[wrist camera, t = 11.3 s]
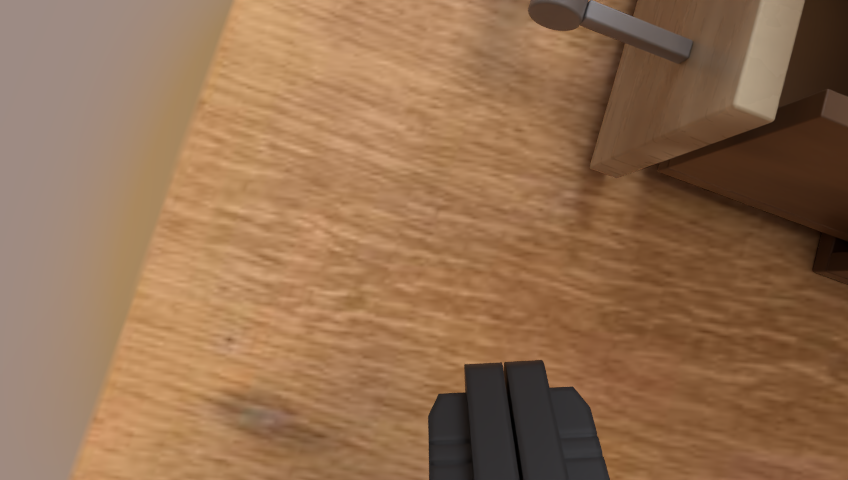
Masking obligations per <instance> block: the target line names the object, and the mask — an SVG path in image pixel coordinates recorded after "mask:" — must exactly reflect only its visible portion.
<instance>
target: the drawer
mask: <svg viewBox="0 0 848 480" xmlns="http://www.w3.org/2000/svg"><path fill="white" fill-rule="evenodd" d="M528 12H529V15H530V17H531V18H532V19H533V20H534V21H535V22H536V23H538V24H540V25H541V26H544V27H546V28H549V29H553V30H559V31H568V30H573V29H576V28H577V27H579V25H580V26H583V27H586V28H588V29H591V30H593V31H596V32H598V33H601V34H603V35H606V36H608V37H611V38H613V39H616V40H619V41H621V42H624V43H625V46H624V49H623V53H622V56H621V60H620V63H619V67H618V70H617V74H616V77H615V80H614V84H613V87H612V91H611V94H610V98H609V101H608V105H607V108H606V112H605V115H604V119H603V122H602V125H601V129H600V132H599V136H598V139H597V143H596V146H595V150H594V153H593V157H592V160H591V164H590V168H591V169H593V170H595V171H598V172H601V173H604V174H606V175H609V176H612V177H615V178H618V177H621V176H624V175H627V174H629V173H632V172H635V171H638V170H641V169H643V168H646V167H649V166H652V165H654V164H657V163H659V167H658V172H660V173H663V174H666V175H668V176H671V177H674V178H676V179H679V180H682V181H685V182H687V183H690V184H693V185H695V186H698V187H701V188H704V189H706V190H709V191H712V192H714V193H717V194H720V195H723V196H725V197H728V198H731V199H734V200H736V201H739V202H742V203H744V204H747V205H750V206H753V207H755V208H758V209H761V210H763V211H766V212H769V213H772V214H774V215H777V216H780V217H782V218H785V219H788V220H791V221H793V222H796V223H799V224H801V225H804V226H807V227H810V228H812V229H815V230H818V231H821V232H823V233H826V234H829V235H831V236H834V237H837V238H840V239H842V240H845V241H848V0H638V1H637V4H636V8H635V11H634V15H633V16H630V15H628V14H625V13H623V12H620V11H618V10H615V9H613V8H610V7H608V6H605V5H603V4H600V3H598V2H595V1H593V0H590V1H589V2H588V0H531V1H530V4H529V8H528Z"/></svg>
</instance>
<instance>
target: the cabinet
mask: <svg viewBox="0 0 848 480" xmlns="http://www.w3.org/2000/svg"><path fill="white" fill-rule="evenodd" d="M813 272H815V273H818V274H820V275H823V276H826V277H829V278H832V279H834V280H837V281H840V282H843V283H845V284H848V241H845V240H842V239H840V238H837V237H834V236H831V235H829V234H826V233H823V232H822V234H821V238H820V242H819V246H818V250H817V255H816V259H815V263H814V267H813Z"/></svg>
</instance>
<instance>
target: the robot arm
mask: <svg viewBox="0 0 848 480" xmlns="http://www.w3.org/2000/svg"><path fill="white" fill-rule="evenodd" d="M464 369H465V393H446V394H439V395H438V397H437V399H436V401H435V403H434V405H433V407H432V409H431V411H430V413H429V416H428V429H429V480H610V478H609V475H608V471H607V467H606V464H605V460H604V457H603V456H602V449H601V446H600V442H599V438H598V437H597V431H596V428H595V424H594V420H593V417H592V413H591V409H590V407H589V406H588V404H587V403H586V402H585V401H584V400H583V398H582V397H581V396H580V395H579V393H578V392H577V391H576V390H575V389H574V387H557V388H549V384H548V379H547V375H546V370H545V366H544V363H543V361H542V360H535V361H517V362H504V371H503V365H502V363H483V364H465V365H464Z"/></svg>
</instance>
